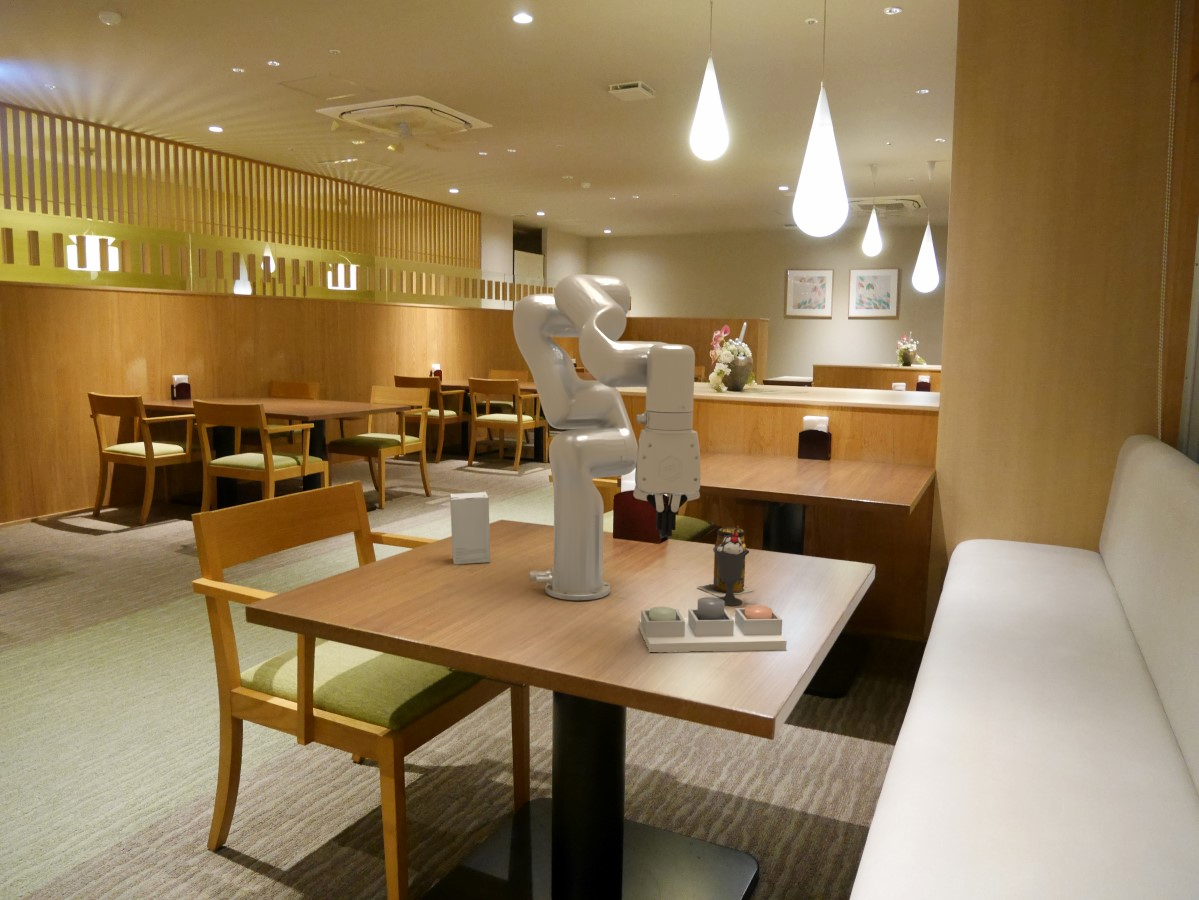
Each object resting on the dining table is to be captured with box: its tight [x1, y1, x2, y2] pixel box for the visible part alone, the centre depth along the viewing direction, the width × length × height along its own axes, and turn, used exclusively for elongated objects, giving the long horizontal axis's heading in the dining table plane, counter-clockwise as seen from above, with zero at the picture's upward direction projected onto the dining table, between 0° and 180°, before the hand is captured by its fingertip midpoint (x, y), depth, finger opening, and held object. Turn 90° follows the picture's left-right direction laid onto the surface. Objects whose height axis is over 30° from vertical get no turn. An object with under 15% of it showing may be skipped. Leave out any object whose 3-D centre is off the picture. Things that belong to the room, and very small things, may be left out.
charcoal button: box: [696, 596, 726, 620], centre depth 141 cm, size 4×4×3 cm
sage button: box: [648, 606, 676, 621], centre depth 141 cm, size 4×4×3 cm
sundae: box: [712, 525, 750, 607], centre depth 160 cm, size 7×7×15 cm
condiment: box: [697, 527, 754, 598], centre depth 169 cm, size 7×8×12 cm
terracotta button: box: [744, 604, 773, 619], centre depth 142 cm, size 4×4×3 cm
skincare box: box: [449, 491, 492, 566], centre depth 187 cm, size 8×6×15 cm
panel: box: [638, 607, 788, 653], centre depth 142 cm, size 22×12×4 cm, turn 95°
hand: (665, 534), depth 139 cm, fingers closed
